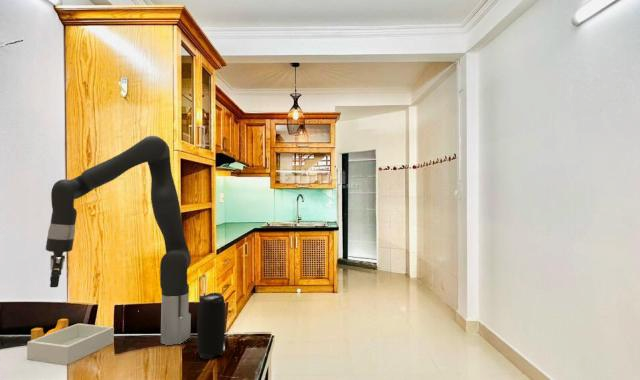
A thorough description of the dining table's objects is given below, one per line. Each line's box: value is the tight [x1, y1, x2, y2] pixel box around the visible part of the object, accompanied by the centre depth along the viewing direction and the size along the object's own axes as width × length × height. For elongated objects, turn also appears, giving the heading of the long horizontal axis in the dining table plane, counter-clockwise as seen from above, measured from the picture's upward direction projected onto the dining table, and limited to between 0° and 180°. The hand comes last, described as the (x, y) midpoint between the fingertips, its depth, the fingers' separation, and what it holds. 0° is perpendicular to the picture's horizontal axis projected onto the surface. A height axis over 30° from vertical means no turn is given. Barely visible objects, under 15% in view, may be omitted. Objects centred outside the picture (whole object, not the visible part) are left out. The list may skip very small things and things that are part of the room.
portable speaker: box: [196, 292, 226, 360], centre depth 119 cm, size 9×9×20 cm
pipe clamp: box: [30, 318, 69, 341], centre depth 129 cm, size 12×4×6 cm, turn 169°
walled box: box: [26, 323, 115, 366], centre depth 121 cm, size 16×18×6 cm
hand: (53, 283), depth 122 cm, fingers open, 8 cm apart
